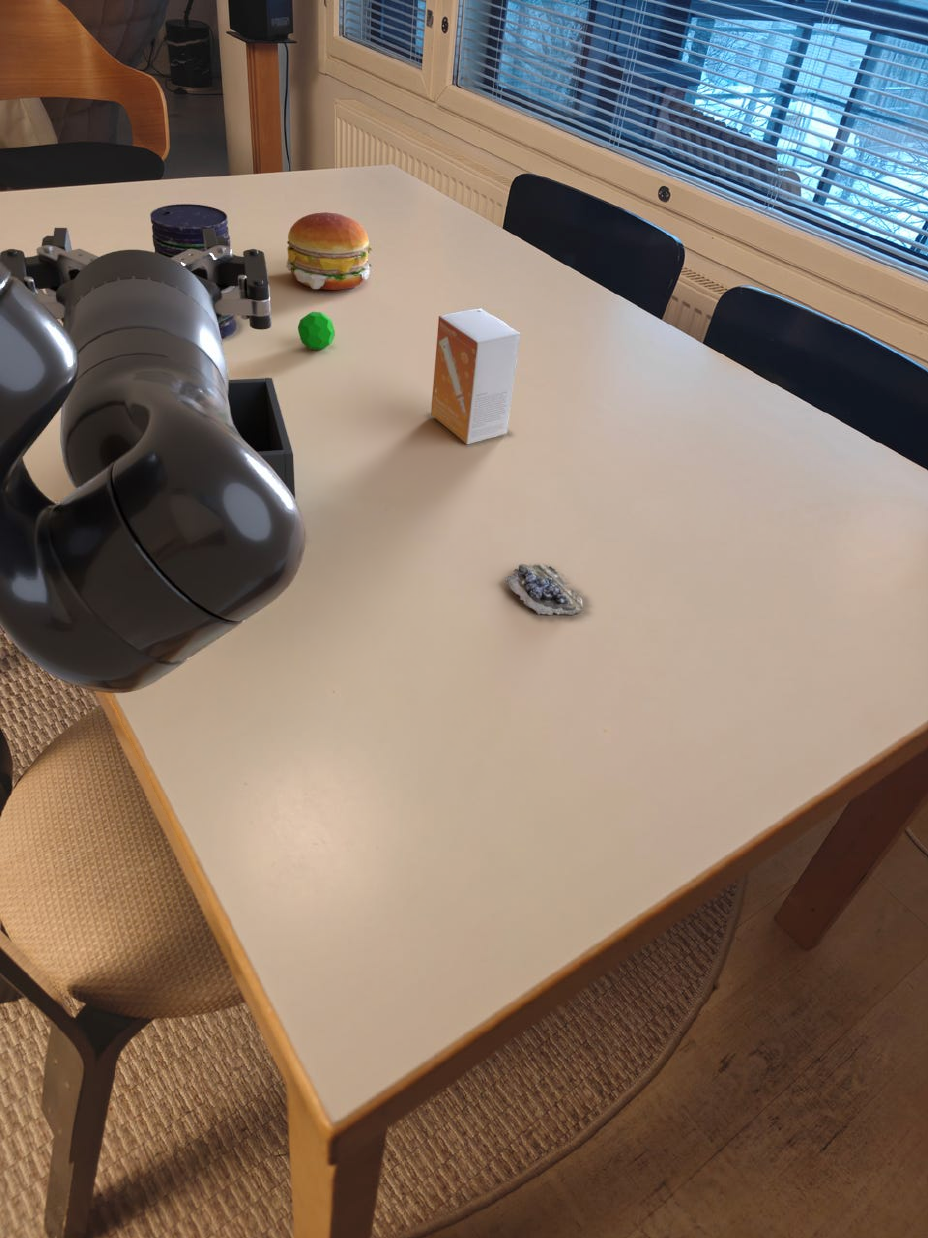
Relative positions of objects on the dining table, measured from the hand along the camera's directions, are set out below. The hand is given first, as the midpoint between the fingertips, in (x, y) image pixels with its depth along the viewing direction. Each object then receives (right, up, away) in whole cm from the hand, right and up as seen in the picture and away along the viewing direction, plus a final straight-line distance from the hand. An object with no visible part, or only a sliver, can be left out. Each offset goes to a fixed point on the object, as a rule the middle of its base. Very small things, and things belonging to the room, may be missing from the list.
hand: (138, 244), depth 54 cm
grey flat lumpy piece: (+28, -21, +30) cm, 46 cm away
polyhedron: (0, +14, +67) cm, 68 cm away
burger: (-2, +31, +86) cm, 91 cm away
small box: (+21, +1, +54) cm, 58 cm away
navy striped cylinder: (-17, +18, +68) cm, 72 cm away
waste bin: (-6, -11, +36) cm, 38 cm away
